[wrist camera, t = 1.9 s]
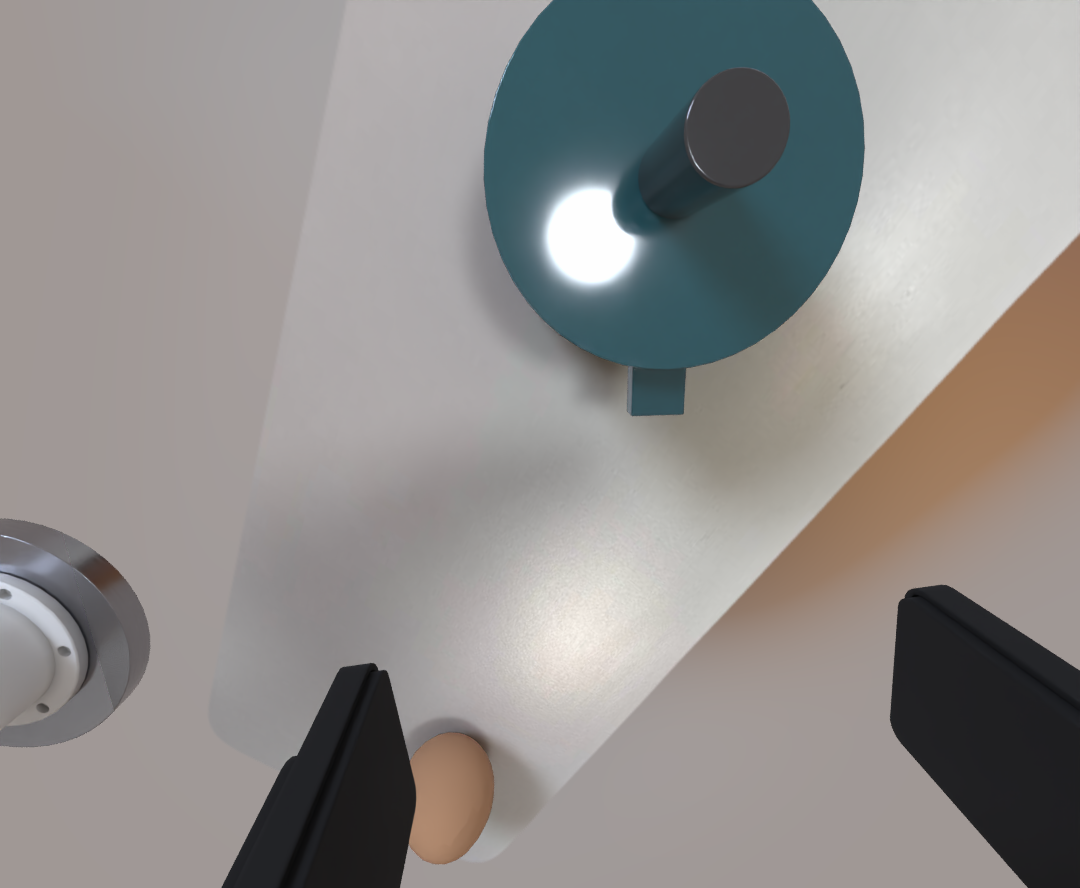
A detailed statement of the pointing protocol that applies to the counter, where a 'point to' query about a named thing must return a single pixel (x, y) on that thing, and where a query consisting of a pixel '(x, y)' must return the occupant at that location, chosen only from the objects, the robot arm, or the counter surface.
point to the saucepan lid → (673, 171)
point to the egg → (450, 797)
